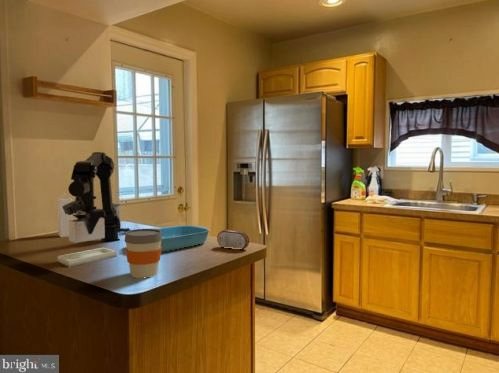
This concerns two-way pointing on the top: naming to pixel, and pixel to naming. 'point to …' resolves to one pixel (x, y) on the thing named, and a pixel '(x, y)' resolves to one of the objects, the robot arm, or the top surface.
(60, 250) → the top surface
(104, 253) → the tray
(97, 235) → the white rectangular block
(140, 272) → the reusable coffee cup
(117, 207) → the milk frother
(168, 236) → the casserole dish
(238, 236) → the portable speaker
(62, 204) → the milk
